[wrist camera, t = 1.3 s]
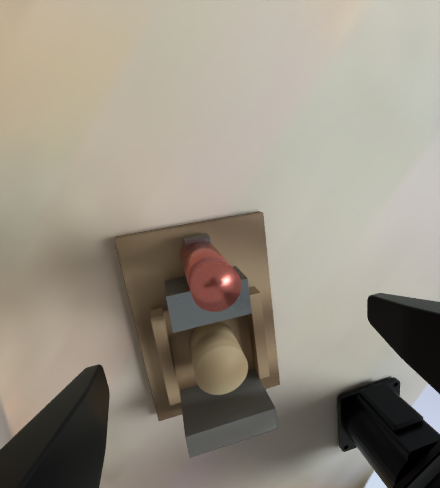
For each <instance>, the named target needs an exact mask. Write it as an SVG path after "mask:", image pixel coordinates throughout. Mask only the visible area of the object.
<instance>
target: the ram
mask: <svg viewBox="0 0 440 488" xmlns="http://www.w3.org/2000/svg"><path fill="white" fill-rule="evenodd" d="M183 243H184V245H183V247H182V248H181V251H180V260H181V263H182V266H183V269H184V272H185V277H180V278H175V279H170V280H166V281H164V284H165V294H166V300H167V305H168V310H169V315H170V320H171V325H172V329H173V333H175V332H179V331H183V330H187V329H191V328H195V327H199V326H203V325H207V324H211V323H215V322H219V321H223V320H227V319H231V318H235V317H240V316H244V315H248V314H252V310H251V302H250V293H249V285H248V278H247V277H246V276H245V275H244V274H243V273H242V272H241V271H240V270H239V269H238V267H237V266H231V265H230V264H229V263H228V262H227V260H226V259H225V258H224V257H223V256H222V255H221V254H220V252H219V251H218V250H217V249H216V248H215V247H214V246H213V245H212V243H211V240H210V236H209V235H208V234H207V233H202V234H197V235H191V236H186V237H183Z"/></svg>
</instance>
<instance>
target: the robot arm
mask: <svg viewBox="0 0 440 488" xmlns="http://www.w3.org/2000/svg"><path fill="white" fill-rule="evenodd" d="M367 317H368V320H369V322H370V324H371V325H372V326H373V327H374V328H375V330H376V331H377V332H378V333H379V334H380V335H381V336H382V337H383V338H384V339H385V341H386V342H387V343H388V344H389V345H390V346H391V347H392V348H393V349H394V351H395V352H396V353H397V354H398V355H399V356H400V357H401V358H402V359H403V360H404V361H405V362H406V363H407V364H408V365H409V366H410V367H411V368H412V369H413V370H415V371H416V372H417V373H418V374H419V375H420V376H421V377H422V378H423V379H424V380H425V381H426V382H427V383H428V384H430V385H431V386H432V387H433V388H434V389H435V390H436V391H437V392H438V393H439V394H440V302H436V301H429V300H423V299H416V298H410V297H403V296H397V295H390V294H384V293H377V294H374V295H370V296H369V297H368V300H367ZM108 409H109V387H108V384H107V380H106V377H105V373H104V370H103V367H102V366H101V365H95V366H91V367H87V368H85V369H84V370H83V371H82V372H81V373H80V374H79V375H78V376H77V377H76V378H75V379H74V380H73V381H72V382H71V383H70V384H69V385H68V386H66V387H65V388H64V389H63V390H62V391H61V392H60V393H59V394H58V395H57V396H56V397H55V398H54V399H53V400H52V401H51V402H50V403H49V404H48V405H47V406H46V407H45V408H43V409H42V410H41V411H40V412H39V413H38V414H37V415H36V416H35V417H34V418H33V419H32V420H31V421H30V422H29V423H28V424H27V425H26V426H25V427H24V428H23V429H21V430H20V431H19V432H18V433H17V434H16V435H15V436H14V437H13V438H12V439H11V440H10V441H9V442H8V443H7V444H6V445H5V446H4V447H3V448H2V449H1V450H0V488H99V485H100V479H101V473H102V468H103V462H104V456H105V449H106V437H107V423H108ZM338 428H339V447H340V448H341V450H342V451H344V452H345V451H348V450H351V449H354V448H356V447H357V448H358V449H359V450H360V452H361V453H362V454H363V456H364V457H365V458H366V460H367V461H368V462H369V464H370V465H371V466H372V468H373V469H374V470H375V472H376V473H377V474H378V475H379V477H380V478H381V480H382V481H383V482H384V484H385V485H386V486H387V488H440V434H439V433H438V432H437V431H435V430H434V429H433V428H432V427H431V426H430V425H429V424H428V423H427V422H425V421H424V420H423V417H422V416H421V415H420V414H419V413H418V412H417V411H416V410H414V409H413V408H412V407H411V406H410V405H409V404H408V403H407V402H406V401H404V400H403V399H402V398H401V397H400V381H399V380H397V379H396V378H390V379H387V380H384V381H381V382H378V383H375V384H372V385H369V386H366V387H362V388H359V389H356V390H353V391H350V392H347V393H344V394H341V395H340V396H339V397H338Z"/></svg>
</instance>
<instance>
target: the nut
mask: <svg viewBox="0 0 440 488" xmlns="http://www.w3.org/2000/svg"><path fill="white" fill-rule="evenodd" d="M189 348H190V353H191V358H192V363H193V367H194V372H195V377H196V381H197V384H198V386H199V387H200V388H201V389H202V390H203V391H204V392H206V393H209V394H212V395H222V394H226V393H229V392H231V391H233V390H235V389H236V388H237V387H239V386H240V385H241V384H242V382H243V381H244V379H245V378H246V375H247V372H248V362H247V359H246V357H245V355H244V353H243V351H242V349H241V347H240V345H239V343H238V341H237V339H236V338H235V336H234V334H233V332H232V330H231V328H230V327H229V326H228V325H227V324H225V323H223V322H221V321H219V322H215V323H211V324H207V325H203V326H199V327H197V328H196V329H195V330H194V331H193V333H192V334H191V336H190V340H189Z"/></svg>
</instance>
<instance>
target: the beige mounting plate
mask: <svg viewBox="0 0 440 488" xmlns="http://www.w3.org/2000/svg"><path fill="white" fill-rule="evenodd" d="M202 233H207V234H208V235H209V236H210V240H211V243H212V245H213V246H214V247H215V248H216V249H217V250H218V251H219V252H220V254H221V255H222V256H223V257H224V258H225V259H226V260H227V262H228V263H229V264H230V265H231V266H237V267H238V269H239V270H240V271H241V272H242V273H243V274H244V275H245V276H246V277H247V278H248V285H249V293H250V302H251V310H252V314H248V315H244V316H240V317H235V318H231V319H227V320H223V321H221V322H223V323H225V324H227V325H228V326H229V327H230V328H231V330H232V332H233V334H234V336H235V338H236V339H237V341H238V343H239V345H240V347H241V349H242V351H243V353H244V355H245V357H246V359H247V362H248V372H247V375H246V378H245V379H244V381H243V382H242V384H241V385H240V386H239V387H237V388H236V389H235V390H233V391H231V392H229V393H226V394H222V395H212V394H209V393H206V392H204V391H203V390H202V389H201V388H200V387H199V386H198V384H197V381H196V377H195V372H194V367H193V363H192V358H191V353H190V348H189V340H190V336H191V334H192V333H193V331H194V330H195V329H196V328H197V327H195V328H191V329H187V330H183V331H179V332H175V333H173V329H172V325H171V320H170V315H169V310H168V305H167V300H166V294H165V284H164V281H166V280H170V279H175V278H180V277H185V272H184V269H183V266H182V263H181V260H180V251H181V248H182V247H183V245H184V243H183V237H186V236H191V235H197V234H202ZM114 240H115V244H116V248H117V252H118V256H119V260H120V264H121V269H122V273H123V277H124V281H125V285H126V289H127V293H128V297H129V301H130V305H131V309H132V313H133V318H134V322H135V326H136V330H137V334H138V338H139V342H140V346H141V350H142V354H143V358H144V362H145V367H146V371H147V375H148V379H149V383H150V387H151V391H152V395H153V399H154V403H155V407H156V411H157V415H158V420H159V421H161V420H165V419H168V418H171V417H174V416H178V415H181V414H183V421H184V429H185V437H186V442H187V446H188V451H189V456H190V458H191V457H194V456H197V455H200V454H203V453H206V452H209V451H212V450H215V449H218V448H221V447H224V446H227V445H230V444H233V443H236V442H239V441H242V440H244V439H247V438H250V437H253V436H256V435H259V434H262V433H265V432H268V431H271V430H274V429H277V421H276V411H275V407H274V405H273V403H272V401H271V399H270V398H269V396H268V394H267V392H266V390H265V389H266V388H270V387H273V386H276V385H279V384H280V382H279V372H278V361H277V351H276V341H275V330H274V320H273V310H272V299H271V289H270V279H269V268H268V258H267V247H266V237H265V227H264V216H263V213H262V212H259V211H258V212H253V213H247V214H241V215H236V216H230V217H224V218H219V219H213V220H207V221H202V222H196V223H190V224H185V225H179V226H173V227H168V228H162V229H156V230H151V231H145V232H139V233H134V234H128V235H122V236H117V237H115V239H114Z"/></svg>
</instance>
